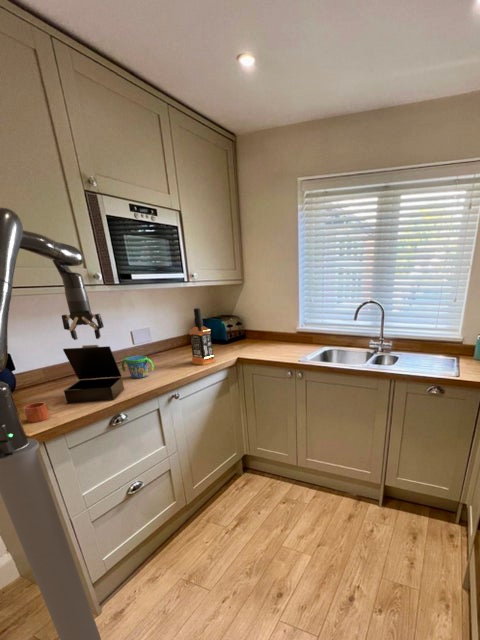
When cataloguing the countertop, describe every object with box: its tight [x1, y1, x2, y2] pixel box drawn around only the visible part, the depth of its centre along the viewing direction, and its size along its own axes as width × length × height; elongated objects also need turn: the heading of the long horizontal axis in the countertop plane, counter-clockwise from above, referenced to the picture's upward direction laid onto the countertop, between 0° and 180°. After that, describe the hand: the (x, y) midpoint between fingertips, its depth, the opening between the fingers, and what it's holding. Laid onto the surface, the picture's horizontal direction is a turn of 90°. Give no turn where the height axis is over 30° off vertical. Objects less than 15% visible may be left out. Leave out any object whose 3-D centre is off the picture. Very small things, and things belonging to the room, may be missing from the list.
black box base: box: [63, 376, 125, 405], centre depth 145 cm, size 16×18×6 cm
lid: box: [62, 344, 123, 381], centre depth 147 cm, size 16×18×5 cm
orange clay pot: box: [22, 401, 50, 423], centre depth 121 cm, size 6×6×6 cm
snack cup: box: [121, 355, 155, 379], centre depth 172 cm, size 16×10×10 cm
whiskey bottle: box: [188, 307, 216, 366], centre depth 196 cm, size 10×10×32 cm
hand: (87, 339), depth 142 cm, fingers open, 8 cm apart
